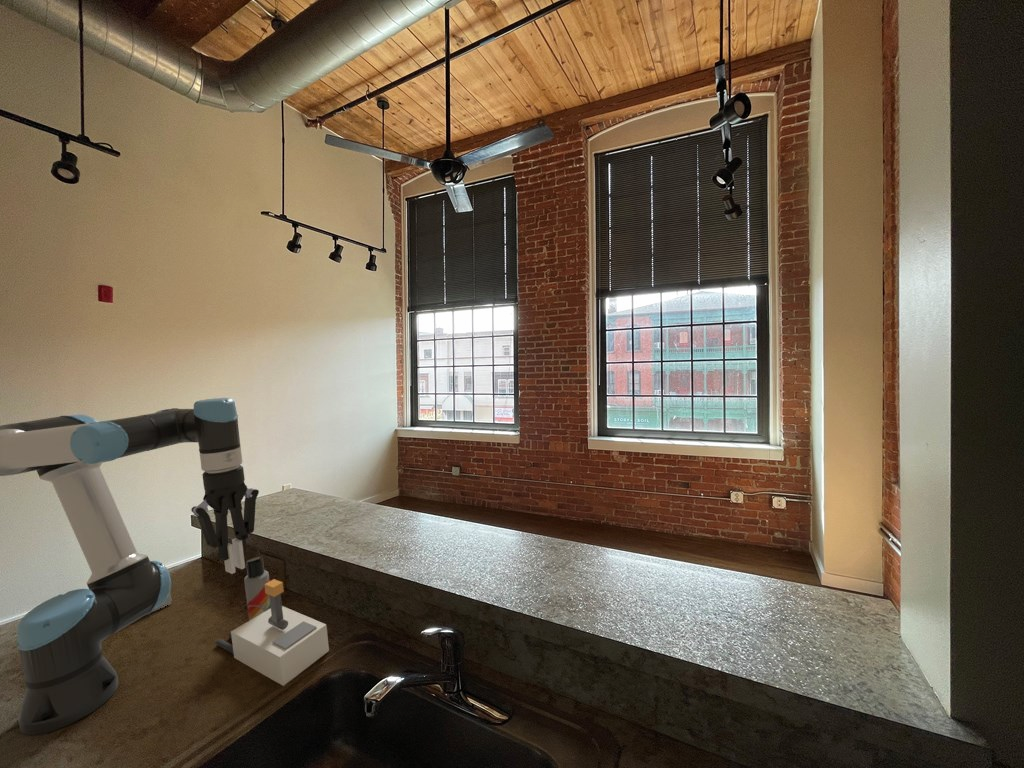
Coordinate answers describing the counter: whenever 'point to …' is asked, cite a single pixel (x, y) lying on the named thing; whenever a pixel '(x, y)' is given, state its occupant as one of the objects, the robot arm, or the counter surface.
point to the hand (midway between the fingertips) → (235, 569)
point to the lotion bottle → (256, 587)
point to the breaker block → (280, 645)
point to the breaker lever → (276, 603)
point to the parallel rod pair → (225, 644)
